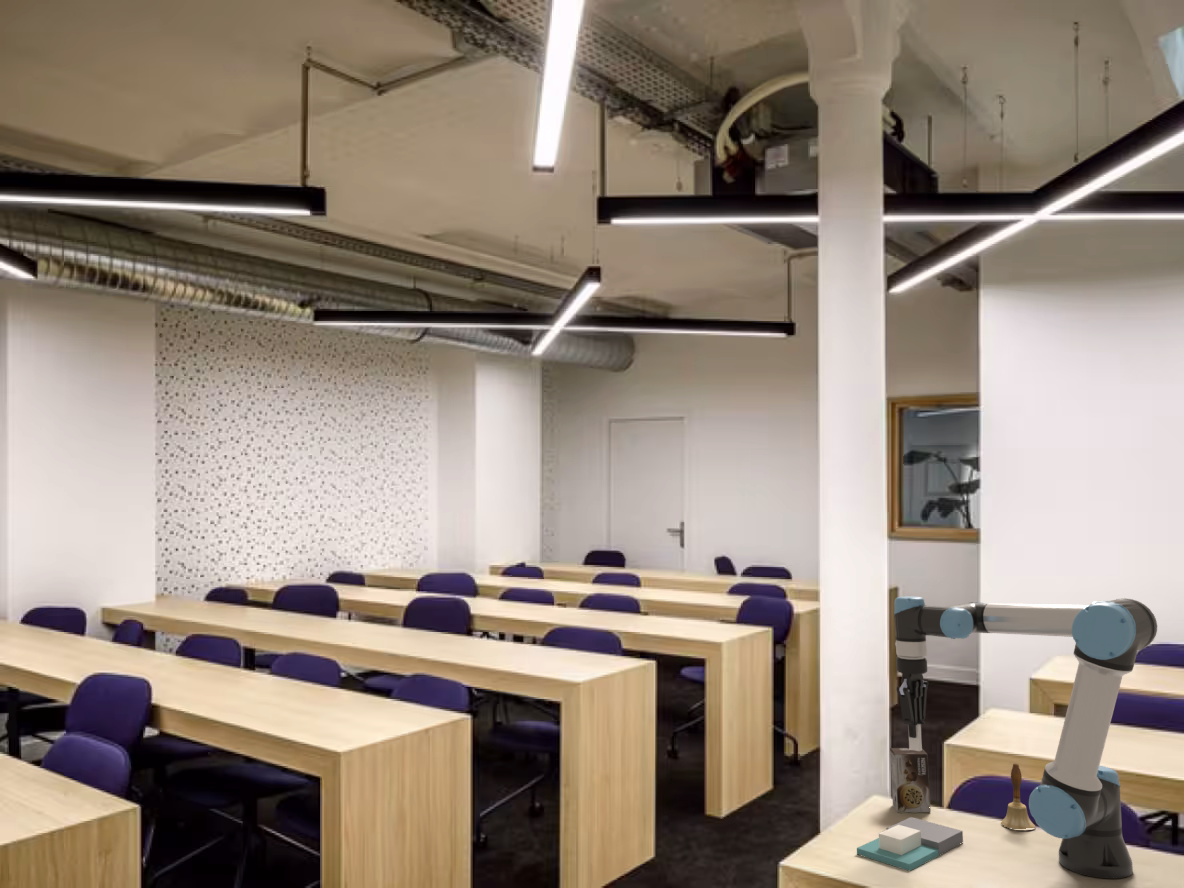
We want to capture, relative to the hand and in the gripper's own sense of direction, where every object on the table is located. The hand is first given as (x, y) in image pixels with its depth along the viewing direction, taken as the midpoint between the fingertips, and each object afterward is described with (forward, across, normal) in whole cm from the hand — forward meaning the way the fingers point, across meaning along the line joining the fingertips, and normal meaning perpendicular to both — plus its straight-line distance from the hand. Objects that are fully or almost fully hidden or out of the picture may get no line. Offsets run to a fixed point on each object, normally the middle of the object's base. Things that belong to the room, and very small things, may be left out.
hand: (915, 749), depth 234 cm
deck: (+22, +2, +2) cm, 22 cm away
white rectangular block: (+20, +13, +2) cm, 24 cm away
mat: (+22, +15, +2) cm, 27 cm away
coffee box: (+22, -19, -12) cm, 31 cm away
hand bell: (+22, -25, +15) cm, 37 cm away
